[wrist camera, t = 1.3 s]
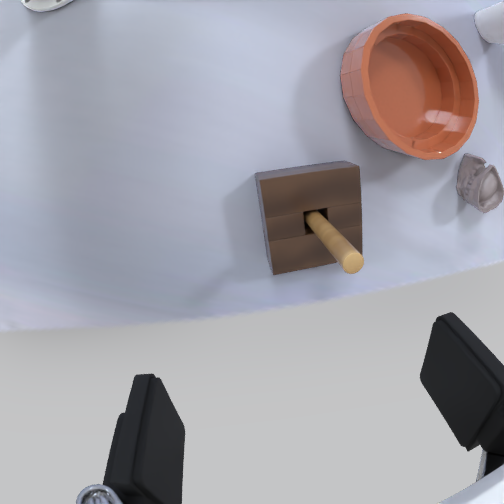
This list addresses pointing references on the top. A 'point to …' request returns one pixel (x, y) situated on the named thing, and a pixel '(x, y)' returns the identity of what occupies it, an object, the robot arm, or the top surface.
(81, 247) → the top surface
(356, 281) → the top surface
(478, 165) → the dental mold
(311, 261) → the holder
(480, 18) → the dixie cup
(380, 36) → the mixing bowl
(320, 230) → the light wooden dowel
